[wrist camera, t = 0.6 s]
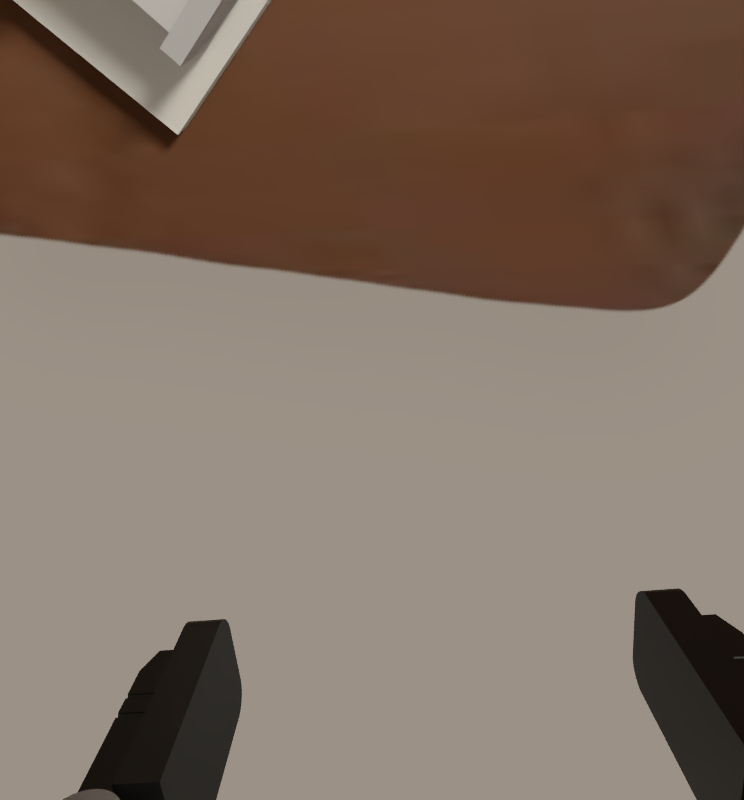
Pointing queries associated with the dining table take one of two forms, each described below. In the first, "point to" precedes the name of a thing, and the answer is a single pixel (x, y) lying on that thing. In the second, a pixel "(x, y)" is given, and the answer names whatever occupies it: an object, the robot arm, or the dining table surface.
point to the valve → (154, 45)
